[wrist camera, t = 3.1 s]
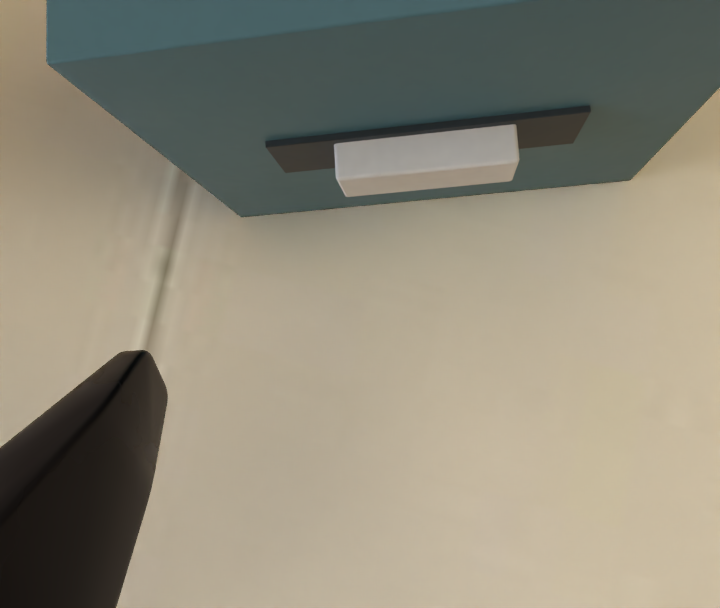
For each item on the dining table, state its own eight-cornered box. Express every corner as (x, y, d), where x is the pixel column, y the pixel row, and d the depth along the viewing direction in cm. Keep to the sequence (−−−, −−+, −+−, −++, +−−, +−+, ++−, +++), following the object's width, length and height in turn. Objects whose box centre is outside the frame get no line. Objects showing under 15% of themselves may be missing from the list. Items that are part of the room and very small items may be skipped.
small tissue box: (635, 213, 18) (856, 26, 9) (242, 248, 20) (44, 122, 10) (608, -8, 19) (784, -409, 9) (234, 41, 21) (45, -261, 11)
